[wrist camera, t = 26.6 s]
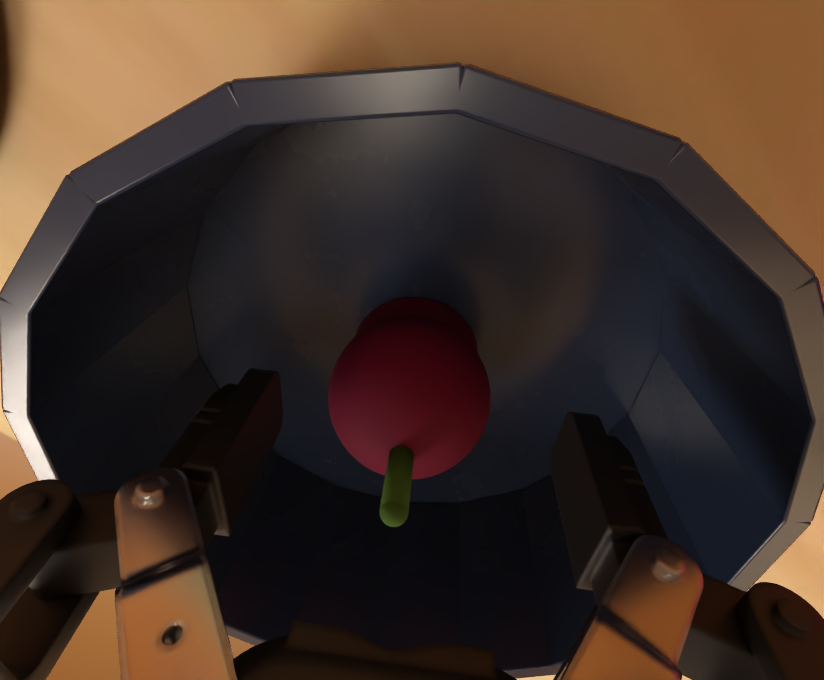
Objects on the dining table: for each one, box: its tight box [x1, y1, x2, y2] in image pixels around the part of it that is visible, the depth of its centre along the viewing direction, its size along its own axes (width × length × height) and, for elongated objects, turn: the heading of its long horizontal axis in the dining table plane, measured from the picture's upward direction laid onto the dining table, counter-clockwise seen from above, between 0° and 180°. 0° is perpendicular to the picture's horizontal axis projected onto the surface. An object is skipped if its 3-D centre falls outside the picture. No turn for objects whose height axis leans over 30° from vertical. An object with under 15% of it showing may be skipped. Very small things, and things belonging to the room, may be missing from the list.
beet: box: [328, 298, 490, 527], centre depth 13 cm, size 5×5×7 cm
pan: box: [0, 62, 824, 678], centre depth 14 cm, size 18×18×8 cm
